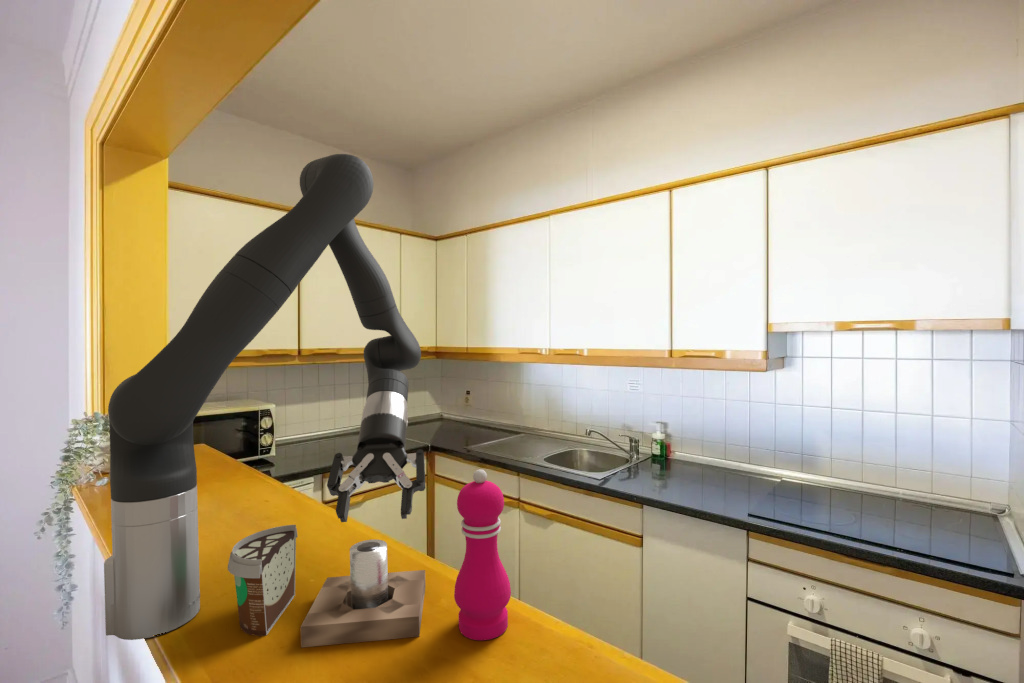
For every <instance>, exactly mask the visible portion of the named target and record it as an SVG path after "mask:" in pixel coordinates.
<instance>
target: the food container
mask: <svg viewBox="0 0 1024 683" xmlns="http://www.w3.org/2000/svg"><path fill="white" fill-rule="evenodd" d="M297 538H298V530H297V525H296V524H288V525H287V524H286V525H280V526H275V527H271V528H268V529H267V528H266V529H264V530H261V531H257V532H254V533H253V534H249V535H248V536H245V537H244V538H242V539H241V540H239V541H238V542H236V543H235V544H234V546H233V547H232V550H231V552H230V555H229V559H228V564H227V570H228V572H229V573H230V574H231V575H233V576H234V584H235V594H236V602H237V610H238V611H237V612H238V619H239V620H238V621H239V628H240V630H241V631H243V632H244V633H245V634H248V635H251V636H257V637H258V636H259V637H262V636H267V635H268V634H269V633H270V631H271V630H272V629H273V627H274V626H275V624H276V623H277V622H278V620H279V619H280V617H281V616H282V615H283V613H284V612H285V611H286V609H287V608H288V607H289V605H290V604H291V602H292V600H293V599H294V598H295V597H296V559H297V558H296V556H297V555H296V554H297V551H296V550H297V548H296V547H297V542H296V541H297ZM294 596H295V597H294Z"/></svg>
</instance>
